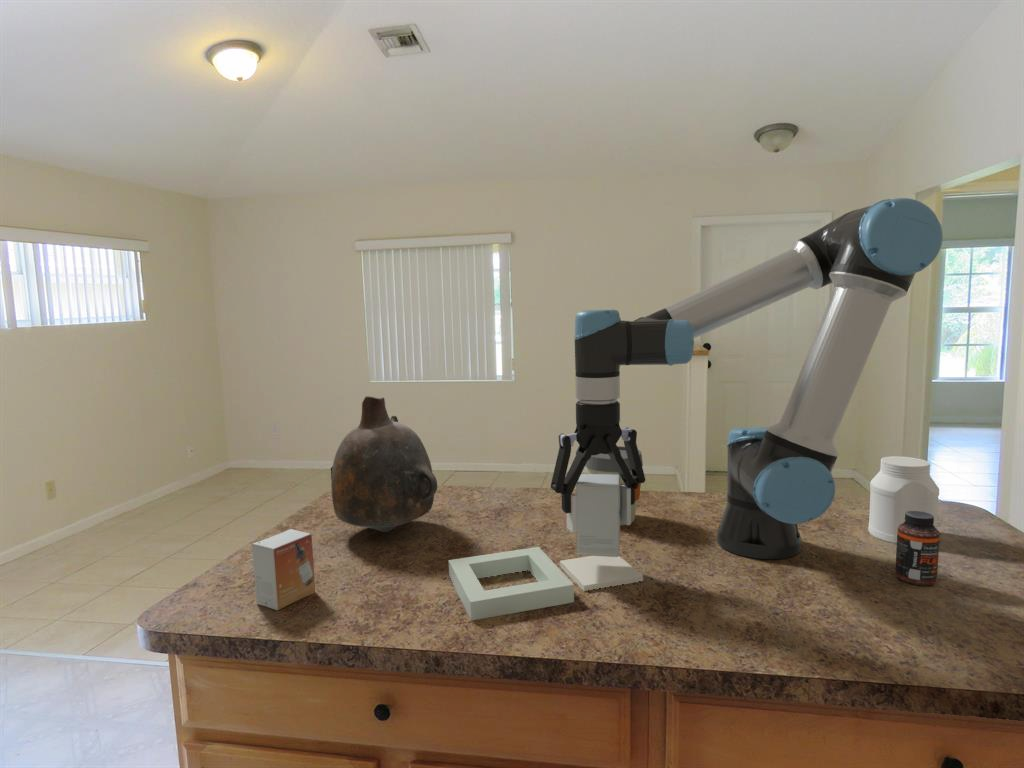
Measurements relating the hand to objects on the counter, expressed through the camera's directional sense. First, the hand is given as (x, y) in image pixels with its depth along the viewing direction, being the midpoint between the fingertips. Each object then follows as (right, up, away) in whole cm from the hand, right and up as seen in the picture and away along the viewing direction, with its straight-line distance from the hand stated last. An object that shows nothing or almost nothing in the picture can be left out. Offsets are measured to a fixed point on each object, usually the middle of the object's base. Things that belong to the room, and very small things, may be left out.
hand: (598, 526), depth 111 cm
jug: (-43, -7, +26) cm, 50 cm away
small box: (-53, -11, -5) cm, 55 cm away
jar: (+62, -5, +14) cm, 64 cm away
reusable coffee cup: (+7, -5, +29) cm, 31 cm away
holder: (-16, -10, -4) cm, 19 cm away
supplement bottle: (+52, -8, -5) cm, 53 cm away
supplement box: (0, -4, +1) cm, 4 cm away
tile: (0, -9, +1) cm, 9 cm away
